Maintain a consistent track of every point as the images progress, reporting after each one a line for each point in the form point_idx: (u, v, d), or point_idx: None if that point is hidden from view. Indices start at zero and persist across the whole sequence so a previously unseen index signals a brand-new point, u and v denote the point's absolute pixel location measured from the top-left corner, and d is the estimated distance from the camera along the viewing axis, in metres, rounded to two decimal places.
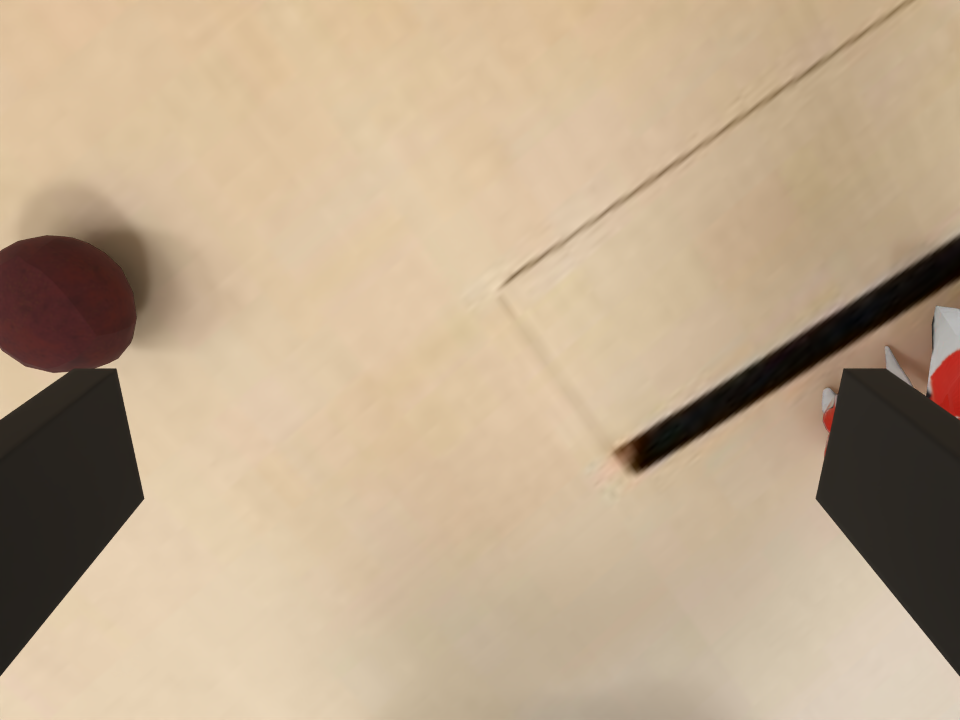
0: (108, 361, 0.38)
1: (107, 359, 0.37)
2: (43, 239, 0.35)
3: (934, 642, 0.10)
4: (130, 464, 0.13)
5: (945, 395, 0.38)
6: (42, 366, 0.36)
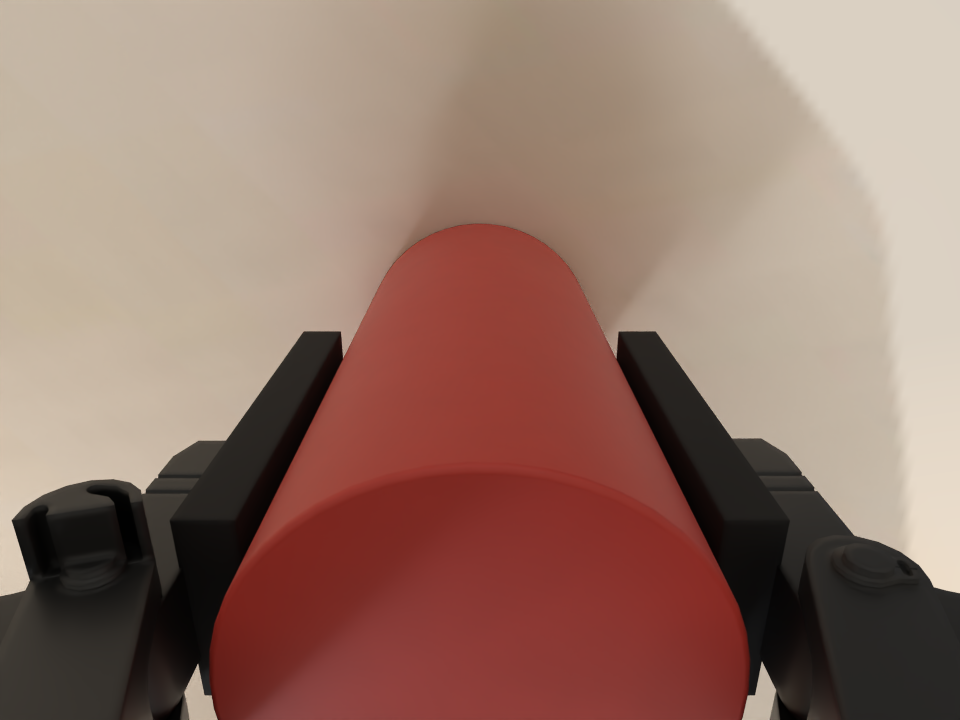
0: None
1: None
2: None
3: None
4: None
5: None
6: None
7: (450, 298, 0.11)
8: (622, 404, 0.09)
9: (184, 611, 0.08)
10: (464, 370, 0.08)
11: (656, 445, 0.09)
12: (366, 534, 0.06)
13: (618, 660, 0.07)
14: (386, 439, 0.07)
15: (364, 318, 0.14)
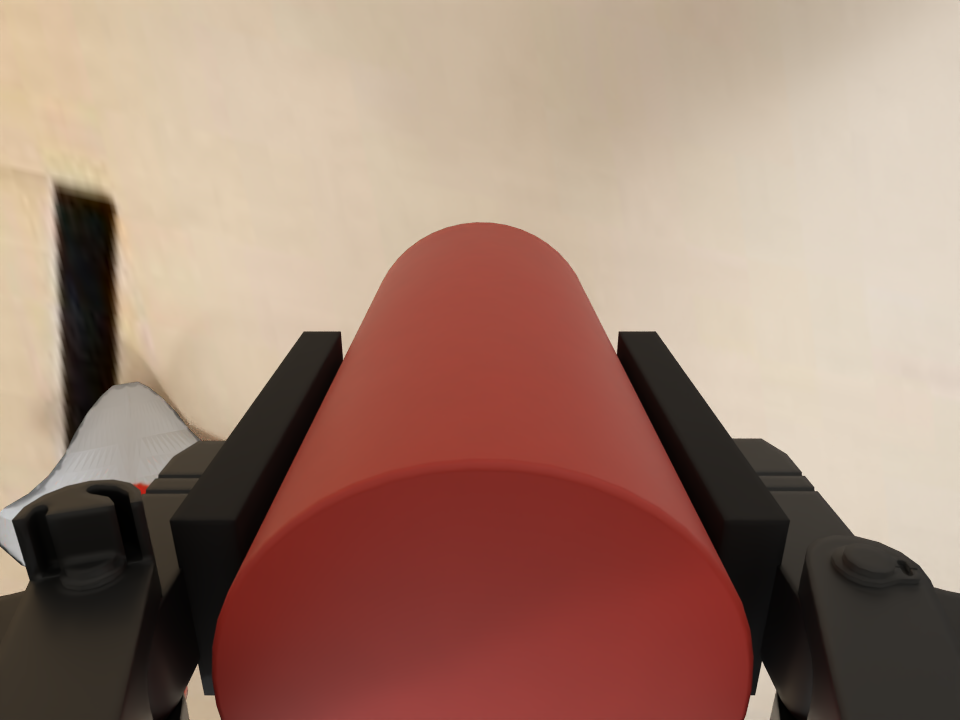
0: None
1: None
2: None
3: None
4: None
5: None
6: None
7: (452, 295, 0.11)
8: (625, 401, 0.09)
9: (185, 612, 0.08)
10: (466, 367, 0.08)
11: (659, 443, 0.09)
12: (370, 529, 0.06)
13: (621, 658, 0.07)
14: (388, 436, 0.07)
15: (365, 316, 0.14)
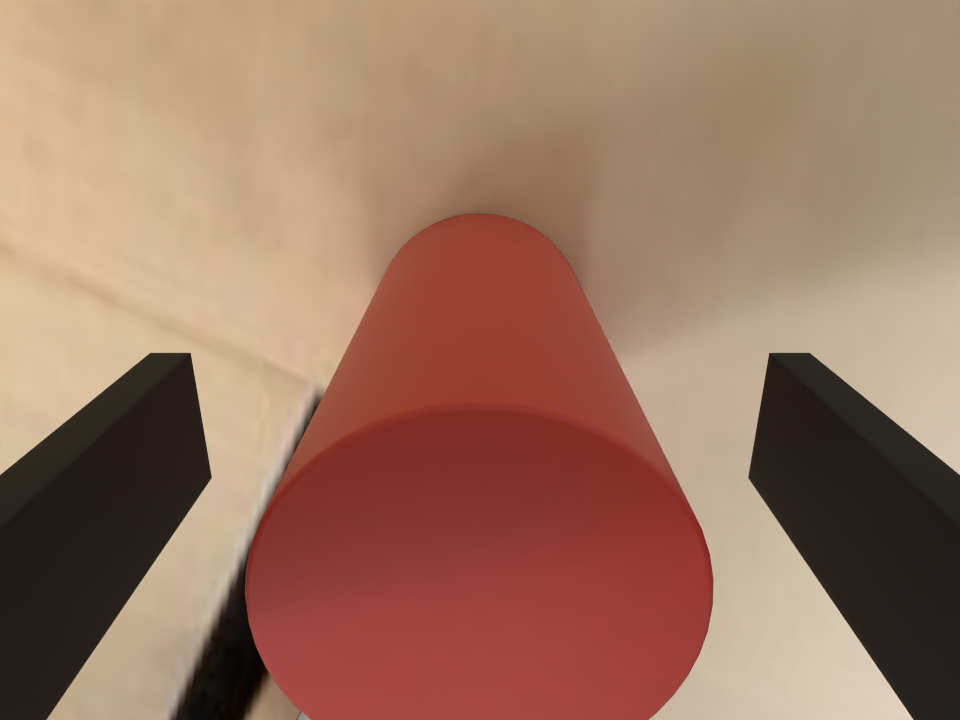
0: None
1: None
2: None
3: (836, 604, 0.10)
4: (201, 444, 0.13)
5: None
6: None
7: (452, 277, 0.12)
8: (606, 366, 0.10)
9: None
10: (466, 334, 0.09)
11: (636, 403, 0.10)
12: (383, 464, 0.07)
13: (599, 578, 0.08)
14: (399, 388, 0.08)
15: (372, 299, 0.15)
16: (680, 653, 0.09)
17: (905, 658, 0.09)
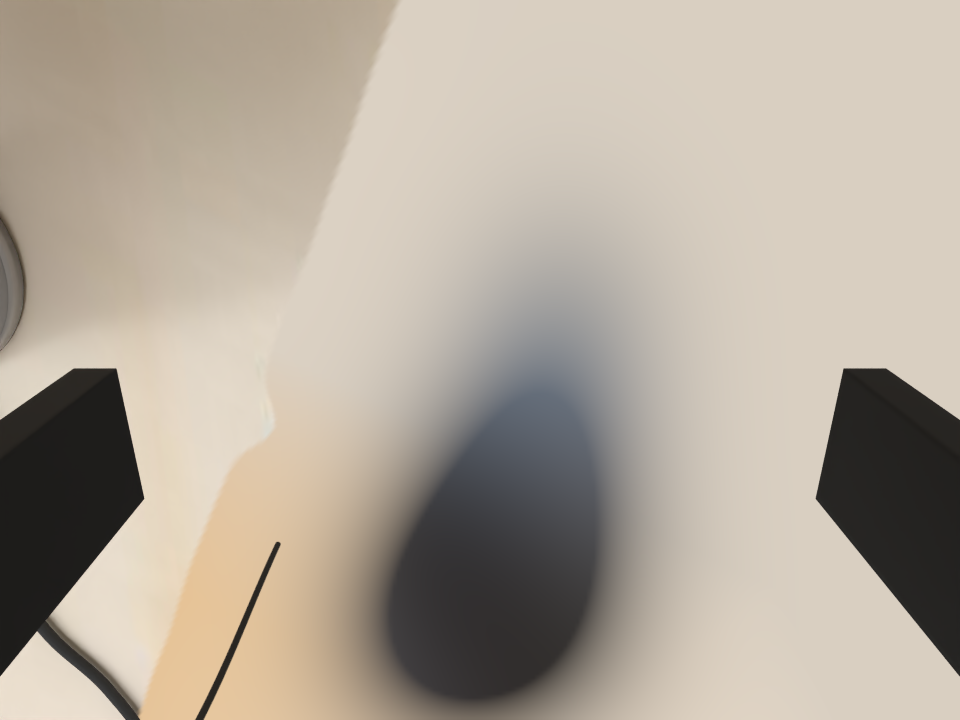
0: None
1: None
2: None
3: (934, 642, 0.10)
4: (130, 464, 0.13)
5: None
6: None
7: None
8: None
9: None
10: None
11: None
12: None
13: None
14: None
15: None
16: None
17: None
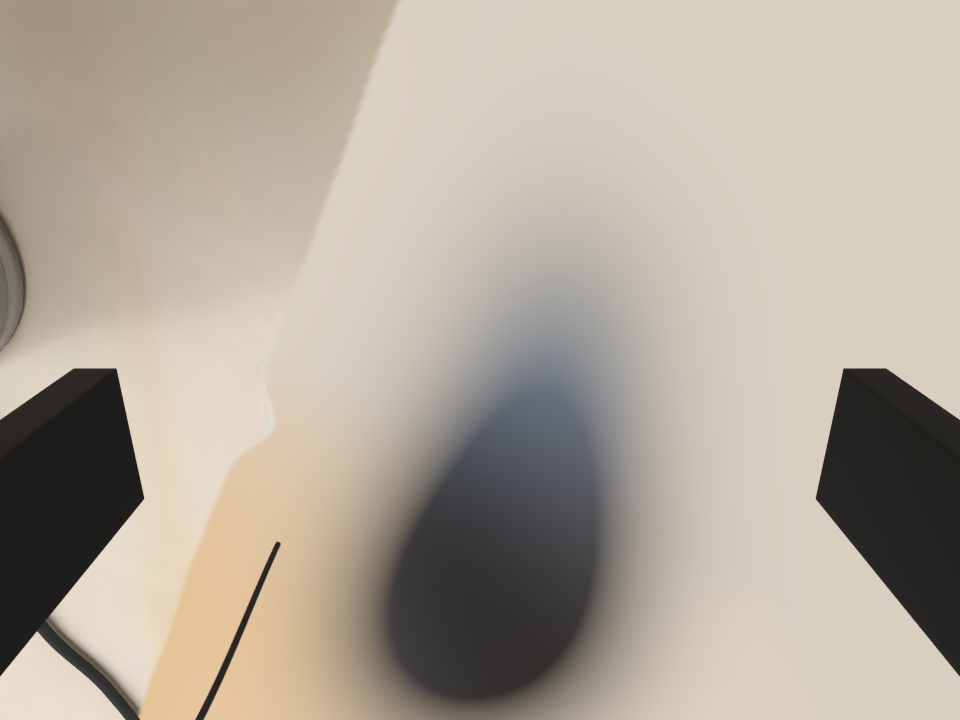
0: None
1: None
2: None
3: (934, 642, 0.10)
4: (130, 464, 0.13)
5: None
6: None
7: None
8: None
9: None
10: None
11: None
12: None
13: None
14: None
15: None
16: None
17: None
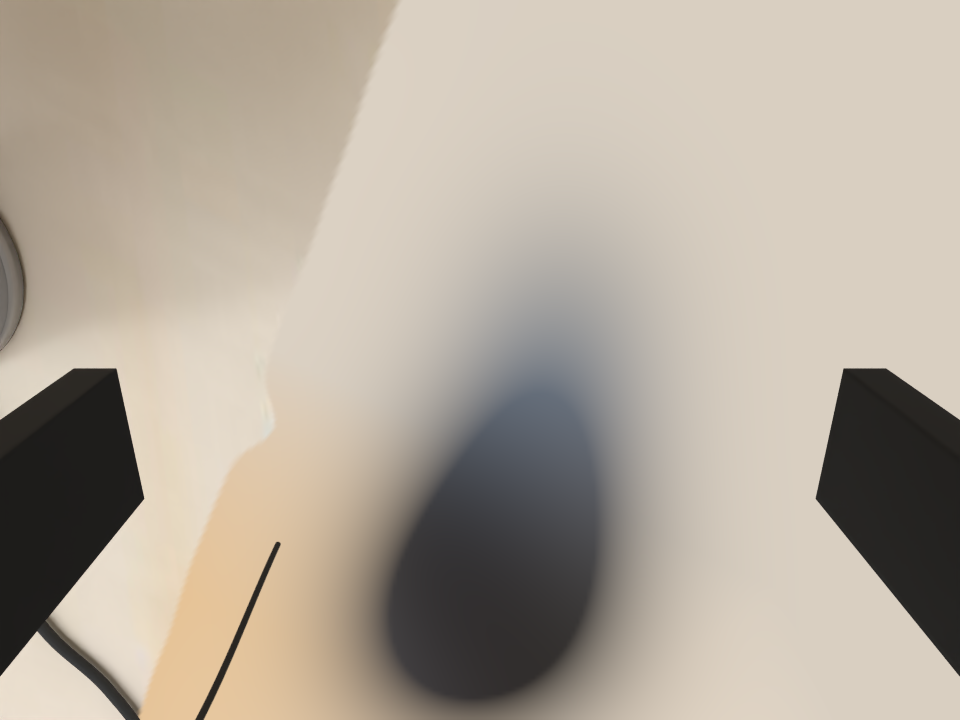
0: None
1: None
2: None
3: (934, 642, 0.10)
4: (130, 464, 0.13)
5: None
6: None
7: None
8: None
9: None
10: None
11: None
12: None
13: None
14: None
15: None
16: None
17: None
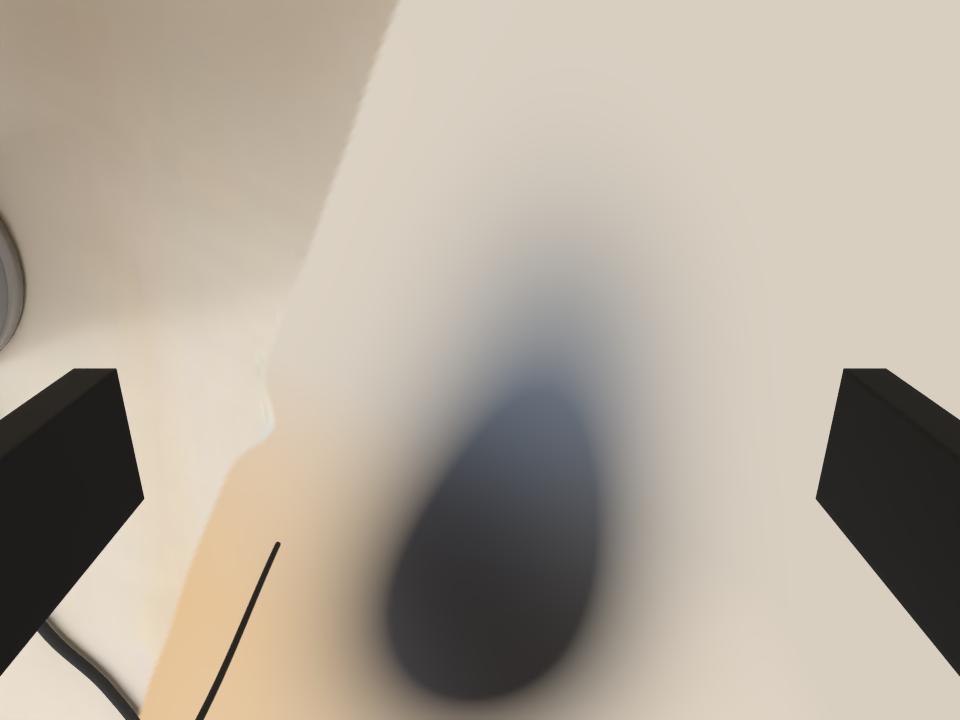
0: None
1: None
2: None
3: (934, 642, 0.10)
4: (130, 464, 0.13)
5: None
6: None
7: None
8: None
9: None
10: None
11: None
12: None
13: None
14: None
15: None
16: None
17: None
